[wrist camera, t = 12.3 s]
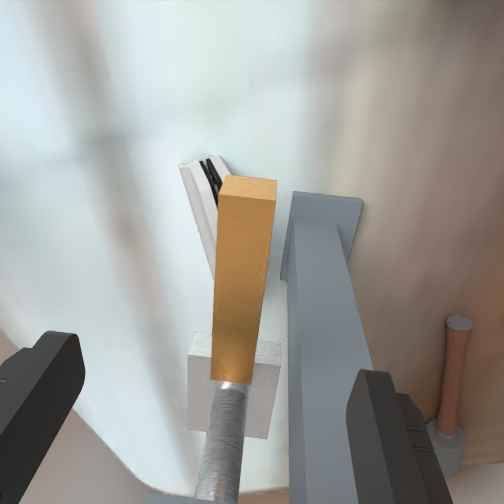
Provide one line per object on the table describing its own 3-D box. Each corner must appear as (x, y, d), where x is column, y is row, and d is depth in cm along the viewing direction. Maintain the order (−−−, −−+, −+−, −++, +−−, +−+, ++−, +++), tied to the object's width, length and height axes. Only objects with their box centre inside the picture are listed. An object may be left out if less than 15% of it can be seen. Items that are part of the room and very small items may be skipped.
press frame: (228, 268, 50) (141, 646, 20) (234, 184, 44) (119, 547, 13) (339, 281, 50) (426, 685, 19) (361, 198, 44) (539, 601, 13)
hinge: (176, 160, 43) (186, 185, 35) (216, 149, 44) (234, 171, 35) (213, 278, 51) (228, 321, 43) (245, 267, 52) (266, 308, 44)
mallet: (496, 330, 48) (470, 474, 61) (467, 303, 53) (449, 441, 67) (450, 338, 48) (433, 481, 61) (426, 311, 53) (416, 448, 67)
